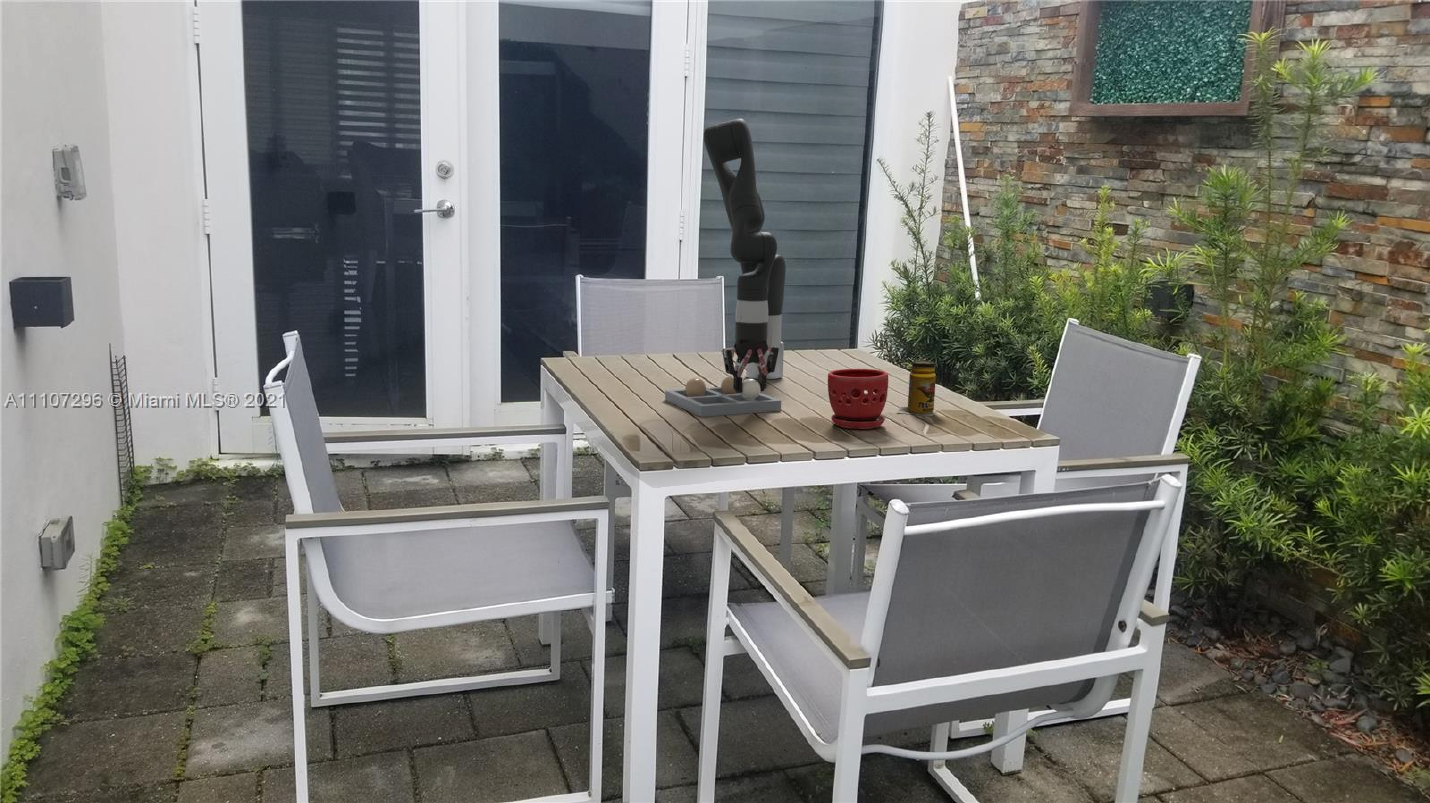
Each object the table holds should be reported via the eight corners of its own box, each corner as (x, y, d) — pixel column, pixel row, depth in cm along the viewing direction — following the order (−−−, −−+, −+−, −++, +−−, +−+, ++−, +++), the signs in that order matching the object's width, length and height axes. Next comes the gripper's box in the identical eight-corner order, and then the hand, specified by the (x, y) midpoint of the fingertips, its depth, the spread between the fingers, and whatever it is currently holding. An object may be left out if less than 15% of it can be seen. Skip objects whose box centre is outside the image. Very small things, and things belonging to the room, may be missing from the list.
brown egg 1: (700, 396, 269) (700, 375, 268) (709, 400, 265) (709, 379, 264) (681, 397, 267) (681, 377, 266) (690, 401, 262) (690, 380, 261)
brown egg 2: (735, 394, 273) (736, 373, 272) (745, 397, 269) (745, 377, 268) (717, 395, 271) (717, 374, 270) (726, 398, 266) (726, 378, 266)
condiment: (933, 416, 257) (936, 365, 255) (896, 413, 259) (899, 362, 257) (936, 410, 264) (939, 360, 261) (900, 407, 266) (903, 358, 264)
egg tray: (740, 395, 277) (741, 385, 277) (781, 410, 259) (781, 400, 259) (664, 400, 268) (665, 390, 268) (701, 416, 250) (701, 406, 250)
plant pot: (875, 419, 252) (877, 366, 250) (894, 431, 240) (897, 376, 237) (819, 419, 250) (821, 367, 248) (835, 432, 237) (837, 377, 235)
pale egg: (754, 397, 264) (754, 376, 263) (764, 401, 260) (764, 379, 259) (735, 398, 262) (735, 377, 261) (744, 402, 258) (745, 381, 257)
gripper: (771, 316, 264) (769, 387, 267) (716, 318, 258) (714, 390, 261) (786, 320, 257) (784, 392, 261) (731, 322, 251) (729, 396, 254)
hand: (749, 391), depth 261 cm, fingers open, 5 cm apart
